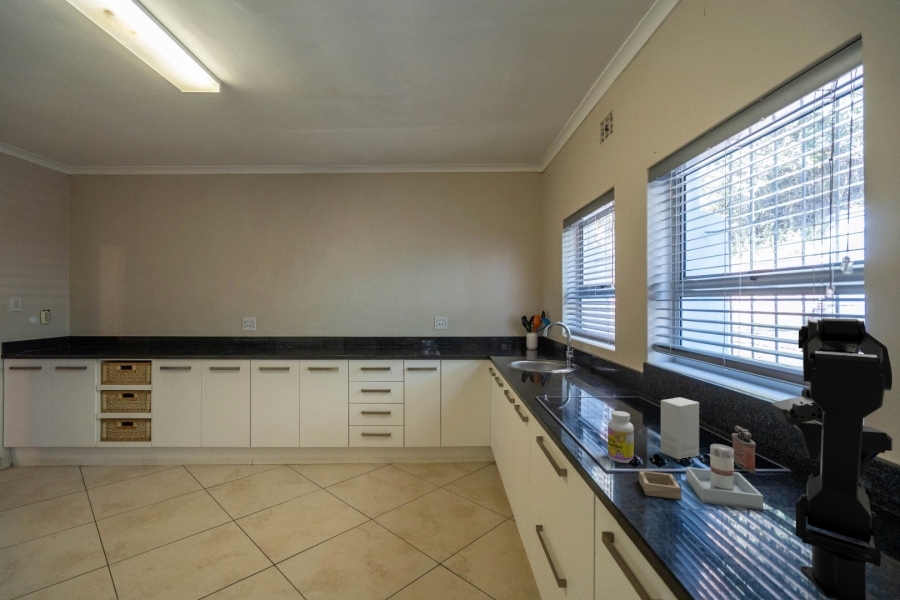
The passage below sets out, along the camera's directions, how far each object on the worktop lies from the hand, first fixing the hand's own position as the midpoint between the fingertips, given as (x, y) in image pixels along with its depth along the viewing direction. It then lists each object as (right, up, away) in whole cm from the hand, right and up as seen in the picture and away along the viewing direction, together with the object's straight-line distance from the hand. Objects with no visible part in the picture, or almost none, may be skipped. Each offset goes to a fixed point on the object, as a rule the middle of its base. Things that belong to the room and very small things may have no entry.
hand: (829, 469), depth 71 cm
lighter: (+8, -13, +31) cm, 34 cm away
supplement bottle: (-23, -13, +35) cm, 44 cm away
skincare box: (-5, -13, +38) cm, 41 cm away
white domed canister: (-8, -12, +16) cm, 22 cm away
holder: (-22, -13, +18) cm, 31 cm away
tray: (-8, -13, +16) cm, 23 cm away
